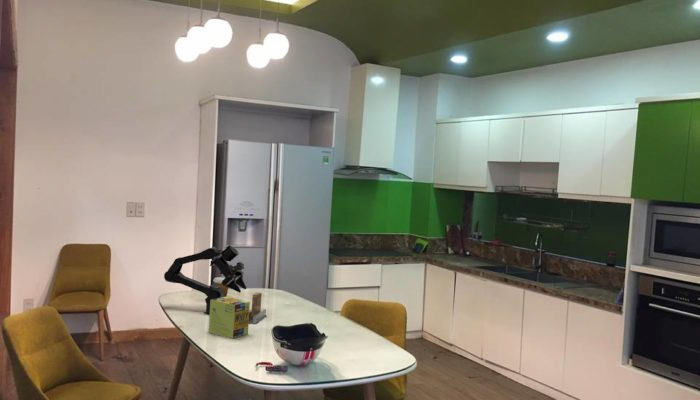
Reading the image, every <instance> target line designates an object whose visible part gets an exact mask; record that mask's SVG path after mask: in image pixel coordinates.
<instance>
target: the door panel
mask: <svg viewBox="0 0 700 400" xmlns="http://www.w3.org/2000/svg"><path fill="white" fill-rule="evenodd" d="M251 297H252V299H251V309H252V312H251V318H253V317H254V316H255V315H256V314H258V313H259V312H260V311H262V310H261V309H262V292H254V293H253V294H252V296H251Z"/></svg>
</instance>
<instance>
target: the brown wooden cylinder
mask: <svg viewBox="0 0 700 400" xmlns="http://www.w3.org/2000/svg"><path fill="white" fill-rule="evenodd" d="M224 279H225V277H224V276H219V277H218V276H217V277H214V279H213V284H216V285H217V286H221V288H223V289H224V296H223V297H228V291H229V288H228V287H226V286H223V284H222V280H224ZM227 285H228V284H227Z"/></svg>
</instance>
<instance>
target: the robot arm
mask: <svg viewBox="0 0 700 400" xmlns="http://www.w3.org/2000/svg"><path fill="white" fill-rule="evenodd" d="M239 254H240V253H239V251H238V250H237V249H236V248H235V247H234V246H232V245H231V244H229V245H227V246H226V247H225V248H224V250H221V249H218V248H217V247H216V246H212V247H209V248H206V249H204V250H202V251H200V252H198V253H194V254H189V255H186V256H183V257H182V256H181V257H177V258H175V259H174V260H173V263H172V264H171V265H170V266H169V268H168V270H167V271H165V273H164V274H163V278H164V281H166V282H168V283H171V284H172V283H173V284H180V285H183V286H185V287H188V288H190V289H193V290H195V291H198V292H200V293H202V294H204V295H205V296H206V297H205V298H204V302H205V303H206V304H205V305H206V306H205V311H204V312H203V314H206V315H209V316H210V300H211V299H216V298H222V297H223V296H224V289H223V288H221V286H217V285H216V284H214V283H212V284H211V285H207V284H205V283H203V282H201V281H198V280H195V279H194V278H190V277H188V276H186V275H185V274H183V272H182V268H183V265H185V264H189V263H193V262H197V261H201V260H204V261H207V260H210V262H209V263H210V264H209V266H210V267H213V266H215V267H216V268H217V270H218V271H219V275H223V276H222V277H225V279H224V280H222V284H223V286H226V287H228V289H230V290H233V291H234V292H235V291H236V292H237V293H241V292H242V290H241V289H240V288H242V289H243V290H246V289H247V286H246V283H245V281H244V279H243V278H244V271H243V270H244V269H245V264H244V263H243V262H241V261H239V262H237V263H236V265H232V264H229V263H228V262H232V261H233V260H234V259H235V258H237V257H238V256H239ZM213 259H214V260H213ZM227 284H228V285H227Z"/></svg>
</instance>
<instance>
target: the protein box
mask: <svg viewBox="0 0 700 400" xmlns="http://www.w3.org/2000/svg"><path fill="white" fill-rule="evenodd" d="M250 304H251V301H248V300H245V299H244V300H243V299H239V298H234V297H230V296H227V297H222V298H216V299H211V300H210V315H209V318H208V333H209V334H213V335H217V336H221V337H224V338H229V339H232V340H234V339H237V338H240V337H244V336H248V335H249V325H250V324H249V311H250V306H251V305H250Z"/></svg>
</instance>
